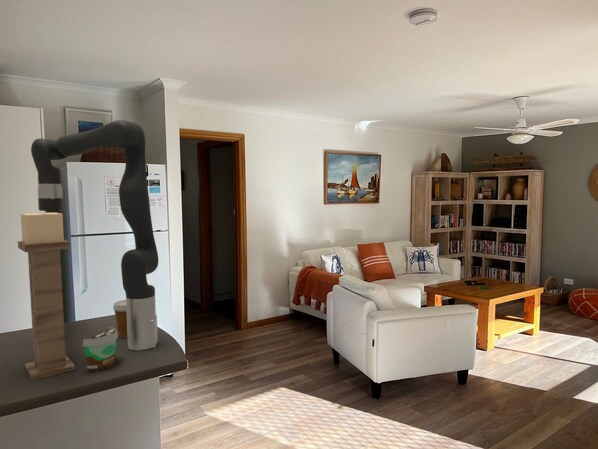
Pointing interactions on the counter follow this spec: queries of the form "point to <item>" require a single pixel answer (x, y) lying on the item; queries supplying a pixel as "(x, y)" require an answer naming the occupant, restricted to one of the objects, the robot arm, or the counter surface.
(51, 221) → the wooden mallet
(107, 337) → the food container
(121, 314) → the disposable coffee cup
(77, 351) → the counter surface
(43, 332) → the walnut stand
